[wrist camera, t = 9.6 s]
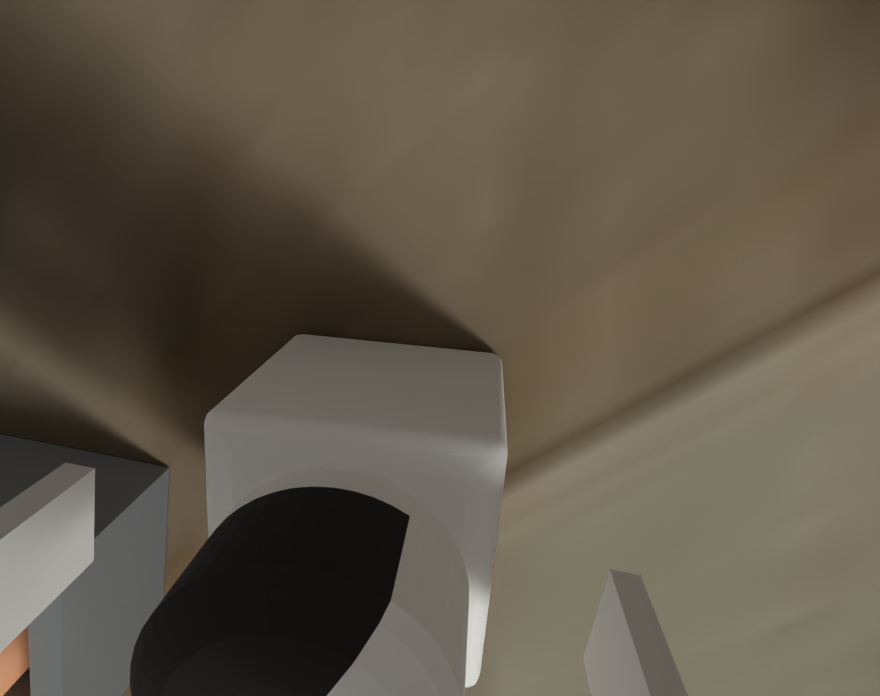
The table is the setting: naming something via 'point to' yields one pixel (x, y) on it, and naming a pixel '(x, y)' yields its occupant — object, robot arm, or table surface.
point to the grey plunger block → (95, 572)
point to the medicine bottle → (340, 529)
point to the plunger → (14, 661)
